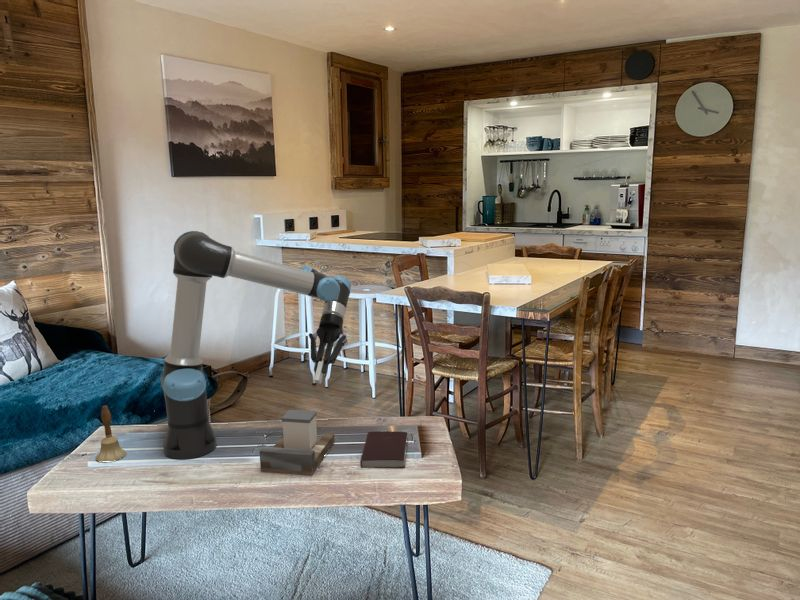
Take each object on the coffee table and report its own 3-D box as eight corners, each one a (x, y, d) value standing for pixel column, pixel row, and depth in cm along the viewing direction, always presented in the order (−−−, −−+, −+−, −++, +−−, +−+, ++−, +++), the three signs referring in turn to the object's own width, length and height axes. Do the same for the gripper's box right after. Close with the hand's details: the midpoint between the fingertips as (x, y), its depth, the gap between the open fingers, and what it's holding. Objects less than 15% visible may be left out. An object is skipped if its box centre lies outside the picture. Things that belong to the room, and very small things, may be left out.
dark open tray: (288, 439, 192) (287, 421, 191) (334, 442, 189) (333, 424, 188) (260, 471, 172) (259, 451, 171) (312, 475, 169) (311, 455, 168)
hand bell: (127, 459, 181) (121, 407, 178) (95, 465, 177) (89, 413, 174) (125, 448, 188) (120, 398, 185) (95, 453, 185) (89, 403, 181)
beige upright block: (291, 444, 186) (289, 409, 184) (318, 446, 184) (316, 411, 182) (283, 453, 180) (281, 418, 177) (311, 455, 178) (309, 419, 176)
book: (360, 469, 173) (359, 458, 173) (367, 439, 192) (367, 429, 192) (404, 470, 173) (404, 459, 172) (408, 440, 191) (408, 430, 191)
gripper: (353, 324, 209) (340, 388, 196) (316, 323, 211) (301, 385, 199) (348, 313, 203) (334, 377, 190) (311, 311, 205) (294, 375, 192)
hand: (317, 381), depth 194 cm, fingers closed
